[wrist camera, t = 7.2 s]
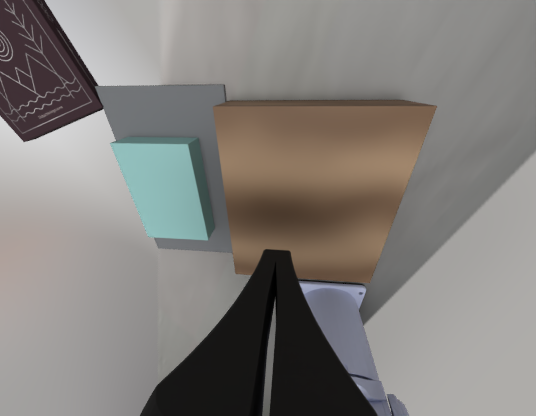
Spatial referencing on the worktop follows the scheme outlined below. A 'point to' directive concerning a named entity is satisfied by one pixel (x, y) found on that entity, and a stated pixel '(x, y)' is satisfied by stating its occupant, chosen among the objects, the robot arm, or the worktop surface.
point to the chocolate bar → (40, 72)
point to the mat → (176, 125)
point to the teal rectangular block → (167, 185)
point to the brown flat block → (317, 179)
